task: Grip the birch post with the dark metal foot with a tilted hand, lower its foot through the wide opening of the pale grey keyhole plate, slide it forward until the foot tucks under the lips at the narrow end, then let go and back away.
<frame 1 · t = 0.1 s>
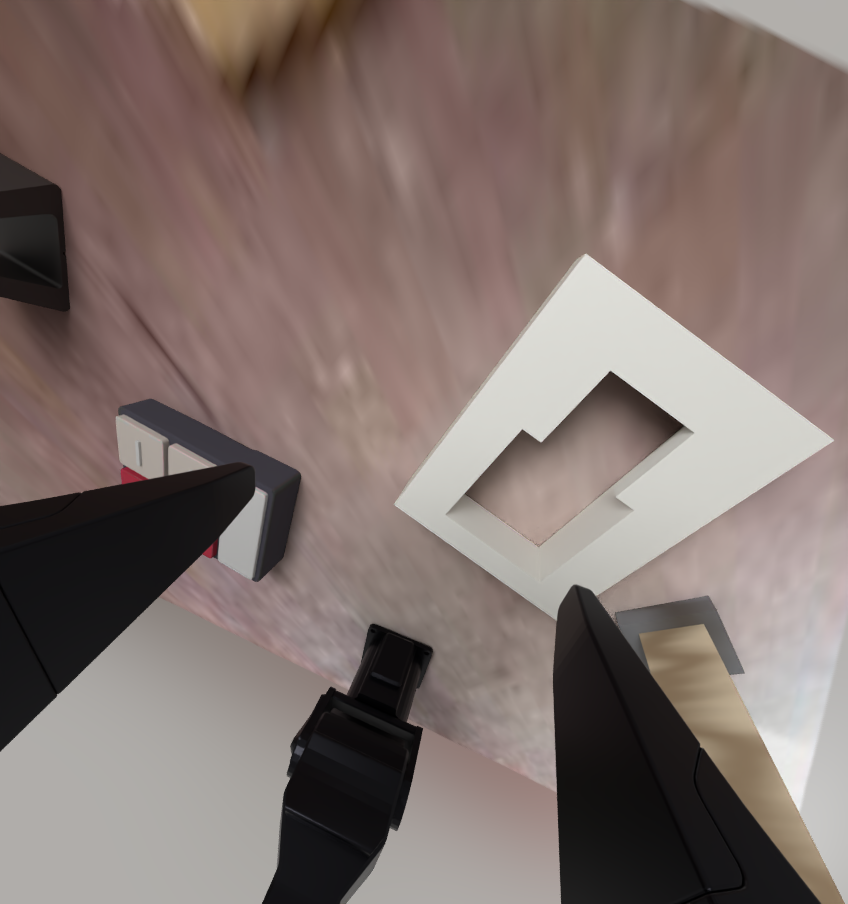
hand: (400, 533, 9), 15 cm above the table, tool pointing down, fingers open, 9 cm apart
phone stand: (36, 235, 27), on the table
keyhole post: (674, 634, 26), on the table
keyhole plate: (563, 452, 22), on the table
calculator: (224, 480, 33), on the table
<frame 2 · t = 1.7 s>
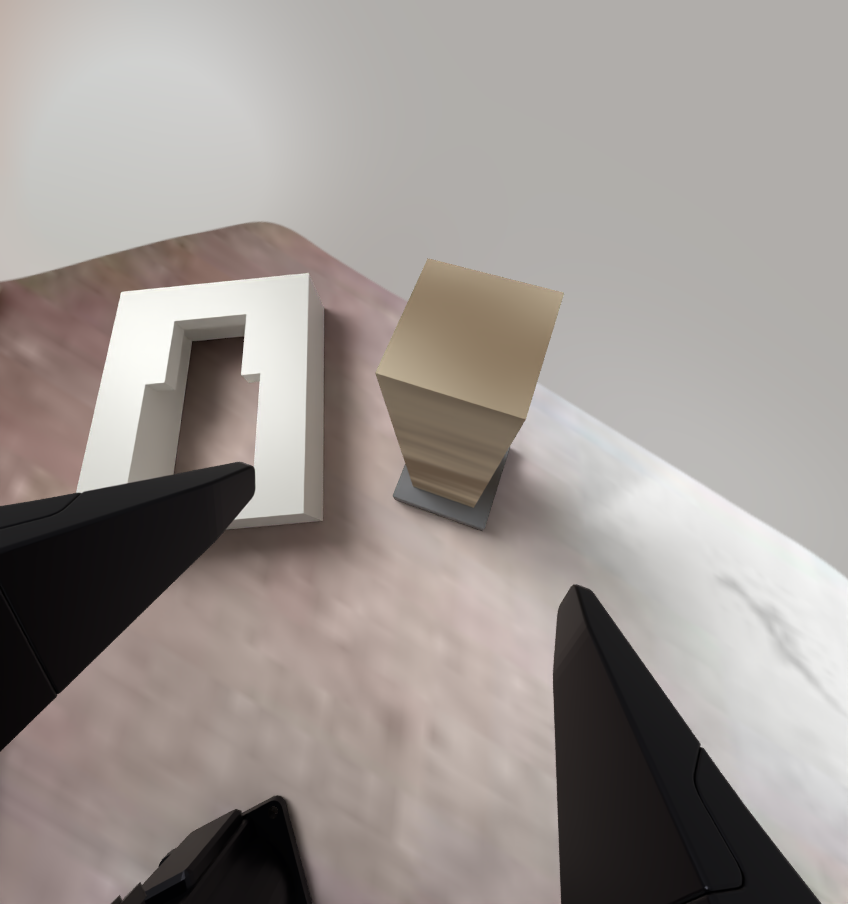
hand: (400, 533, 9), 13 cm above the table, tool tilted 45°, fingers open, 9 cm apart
keyhole post: (452, 472, 24), on the table
keyhole plate: (232, 411, 26), on the table
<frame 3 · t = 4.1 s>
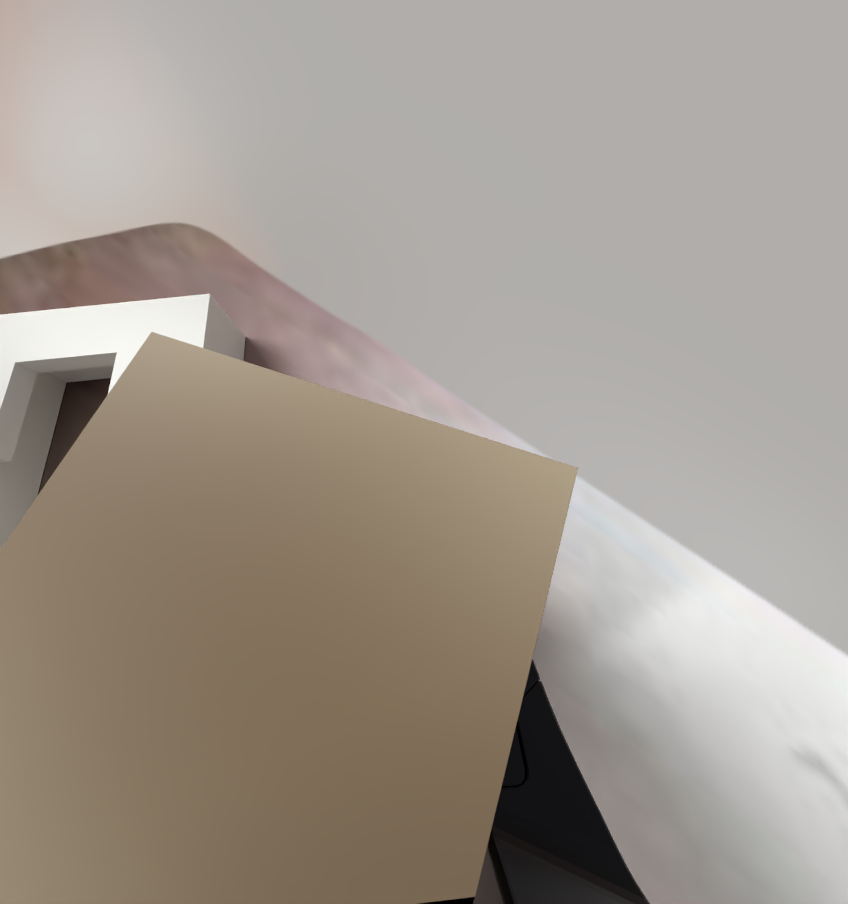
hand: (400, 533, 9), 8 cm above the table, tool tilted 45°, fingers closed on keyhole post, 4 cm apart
keyhole post: (407, 577, 17), on the table, touching gripper
keyhole plate: (108, 483, 19), on the table
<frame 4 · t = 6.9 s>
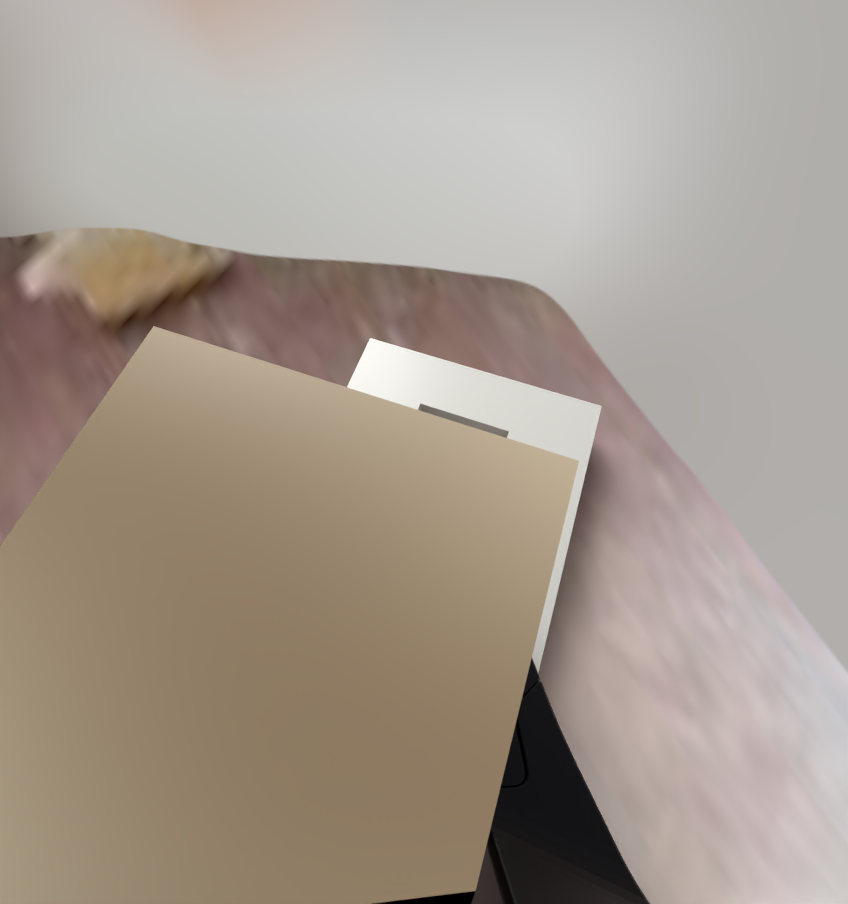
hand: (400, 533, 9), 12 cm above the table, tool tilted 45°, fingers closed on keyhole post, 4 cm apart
keyhole post: (407, 576, 17), point 3 cm above the table, touching gripper
keyhole plate: (430, 521, 21), on the table
when the fingers open (8 cm above the table, at t = 10.1 s): keyhole post stays where it is, resting in keyhole plate.
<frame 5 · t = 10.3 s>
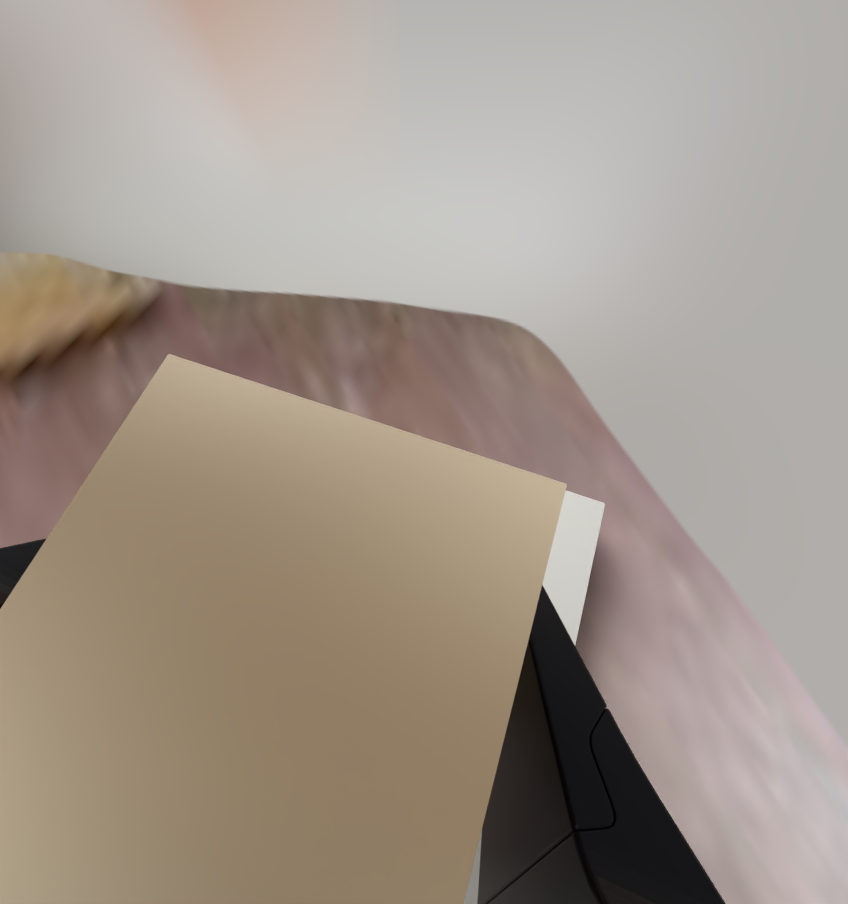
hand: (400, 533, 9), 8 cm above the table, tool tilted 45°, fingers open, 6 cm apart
keyhole post: (407, 578, 17), resting in keyhole plate
keyhole plate: (384, 642, 16), on the table
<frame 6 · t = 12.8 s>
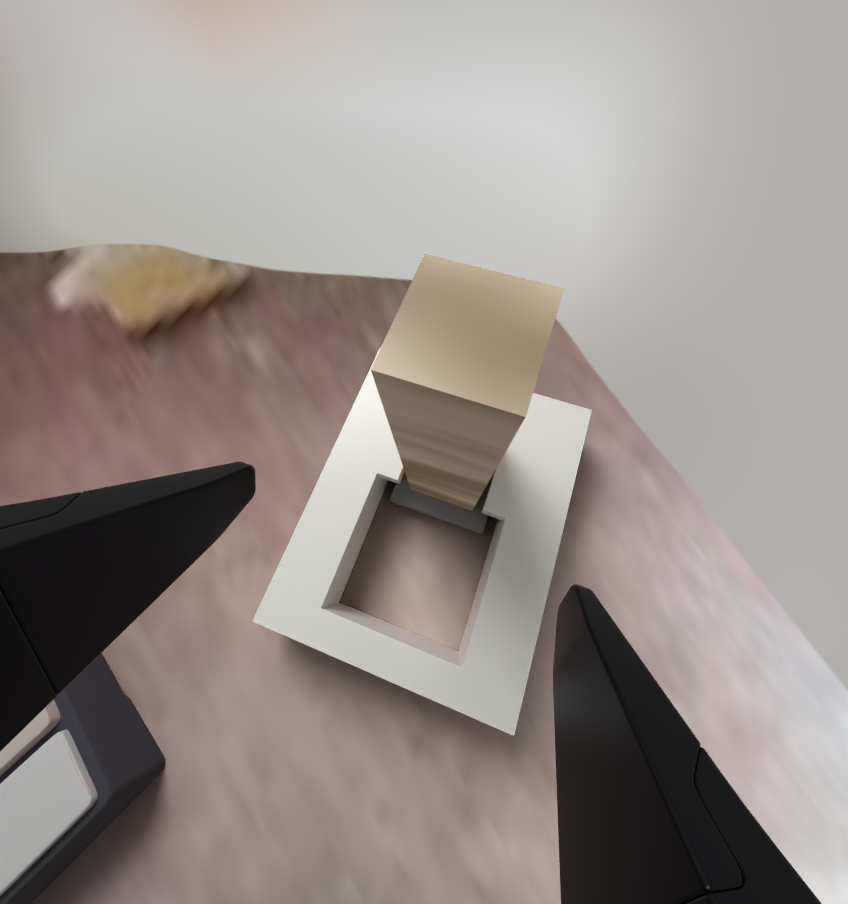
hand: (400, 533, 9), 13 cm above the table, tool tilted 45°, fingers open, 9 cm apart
keyhole post: (450, 475, 23), resting in keyhole plate
keyhole plate: (435, 516, 23), on the table
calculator: (26, 723, 20), on the table
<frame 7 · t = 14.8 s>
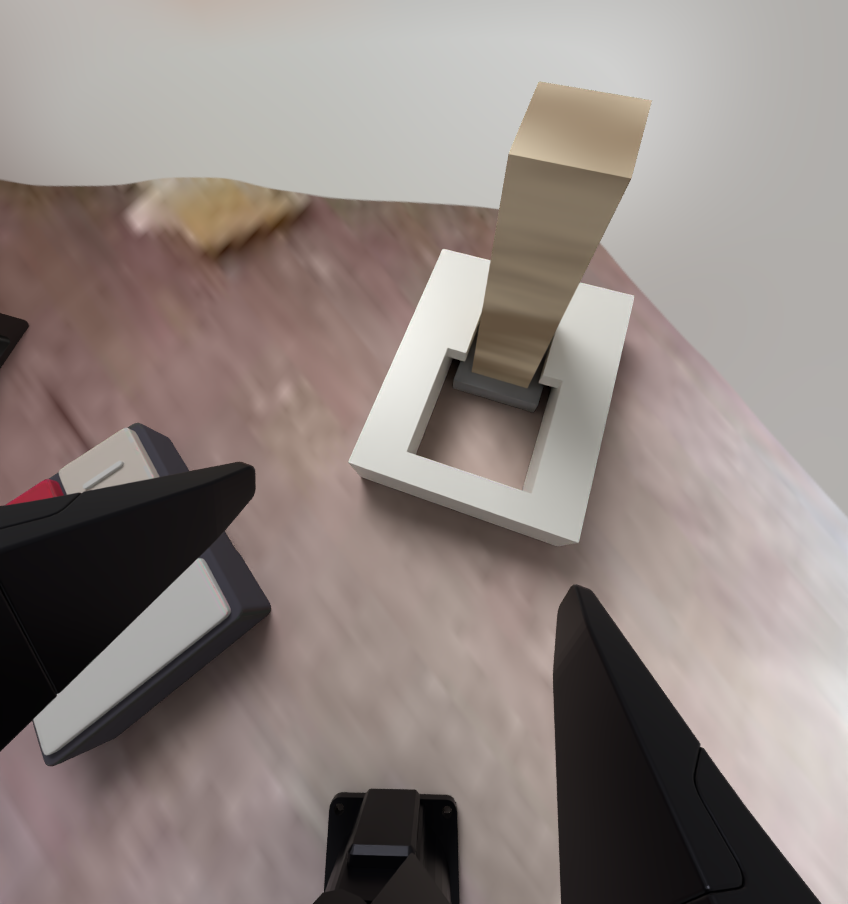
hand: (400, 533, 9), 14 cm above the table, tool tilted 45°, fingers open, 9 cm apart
keyhole post: (504, 365, 26), resting in keyhole plate
keyhole plate: (492, 399, 25), on the table
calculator: (148, 568, 23), on the table
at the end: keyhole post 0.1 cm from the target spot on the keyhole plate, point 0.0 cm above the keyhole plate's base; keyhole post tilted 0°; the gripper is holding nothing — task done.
